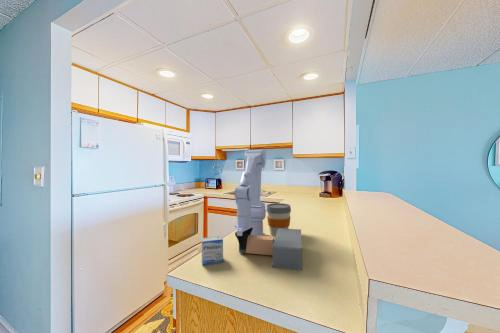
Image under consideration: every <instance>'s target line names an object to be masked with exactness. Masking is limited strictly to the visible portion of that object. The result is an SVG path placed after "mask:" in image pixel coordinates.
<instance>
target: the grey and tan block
mask: <svg viewBox="0 0 500 333" xmlns="http://www.w3.org/2000/svg"><path fill="white" fill-rule="evenodd" d="M274 239H275V237H273V236H271V235H264V236H258V235H249V236H248V239H247V246H246V250H241V249H240V246H239V245H238V252H239V253H243V254H253V255H254V254H255V255H266V256H273V249H272V246H273V243H274Z"/></svg>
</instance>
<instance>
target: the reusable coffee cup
mask: <svg viewBox="0 0 500 333" xmlns="http://www.w3.org/2000/svg"><path fill="white" fill-rule="evenodd" d="M291 212H292V209H291V204H288V203H278V202H277V203H275V202H274V203H269V204H267V205H266V214H267V216H266V219H267V225H268V227H269V234H270V235H269V236H273V237H274V238H275V236H276V233H277V230H278V228H283V229H290V228H289V227H290V225H291Z"/></svg>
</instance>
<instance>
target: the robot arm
mask: <svg viewBox="0 0 500 333" xmlns="http://www.w3.org/2000/svg"><path fill="white" fill-rule="evenodd" d="M266 155H267V154H266V150H265V149H264V148H262V149H245V151H244V160H245V162H246V165H245V170H244V172H242V174H241V177H240V180H239V183H238V186H236V187H235V188H234V199H235V204H236V219H237V221H236V222H237V223H236V224H234V228H236V231H235V233H234V234H235V237H236V239H237V241H238V247H239V246H240V249H241V250H246V246H247V239H248V236H249V235H258V236H266V233H265V232H264V221H263V220H265V218H266V217H267V216H266V215H267V208H266V204H265V203H264V202H263V201H262V200H261V192H262V191H261V190H262V189H261V186H262V171H263V168H264V167H266V164H267V163H266V160H267V156H266Z"/></svg>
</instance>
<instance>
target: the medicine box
mask: <svg viewBox="0 0 500 333" xmlns="http://www.w3.org/2000/svg"><path fill="white" fill-rule="evenodd" d="M200 242H201V265H202V266H205V265H212V264H220V263H224V239H223V237H222V236H221V235H219V236H212V237H209V236H208V237H202V238H201V241H200Z"/></svg>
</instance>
